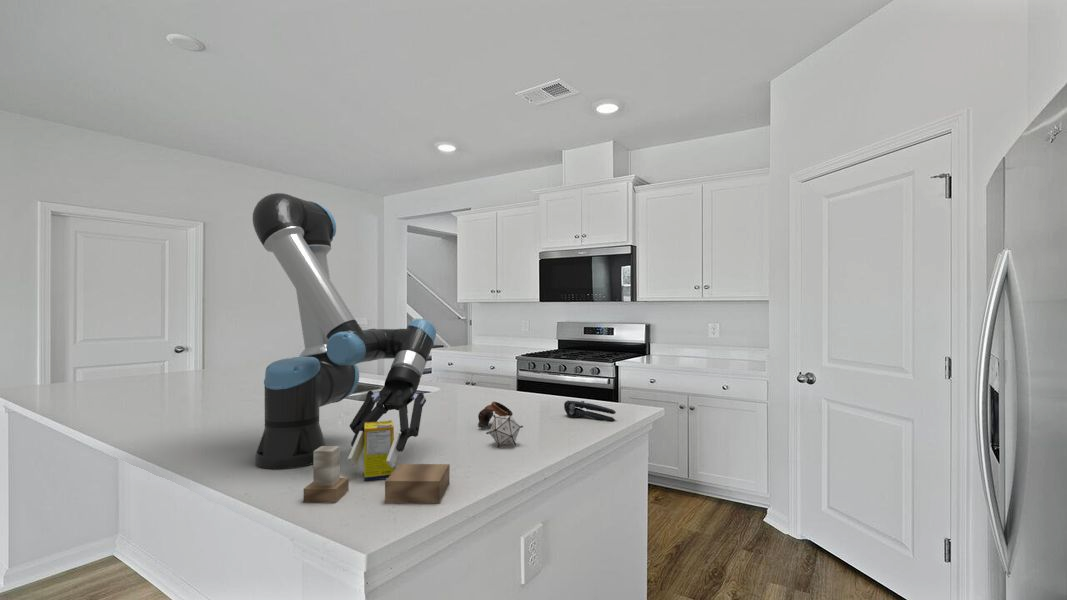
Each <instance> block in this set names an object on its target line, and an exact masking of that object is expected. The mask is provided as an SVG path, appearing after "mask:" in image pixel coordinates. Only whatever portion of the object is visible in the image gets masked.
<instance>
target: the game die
mask: <svg viewBox="0 0 1067 600" xmlns="http://www.w3.org/2000/svg"><path fill="white" fill-rule="evenodd" d="M492 418H493V420H492V424H491V427H490V429H489V431H487V432H486V433H485V434H486V435H489V436H491V437H492V439H493V440H494V441H495V442H496V443H497V448H498V449H499V448H500V446H501V445H508V444H513V445H514V446H517V443H516V440H517V437H518V434H519V432H520V430H521V429H522V428H523V427H524V425H519V423H518V422H517V421H516V420H515V419H514V418H513V416H511V413H510V414H509V415H508V416H499V415H498V416H496V414H493V416H492Z"/></svg>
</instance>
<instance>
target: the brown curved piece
mask: <svg viewBox="0 0 1067 600" xmlns="http://www.w3.org/2000/svg"><path fill="white" fill-rule="evenodd" d="M510 413H511V417H513V414H514V413H513V412H512V410H511V409H510V408H508V407H507V406H505V405H504V404H502V403H500V402H497V401H492V402H491V404H488V405H486V406H485V407H484V408H483V409H482V410H480V411H479V413H478V415H477V419H478V423H477V426H478V427H479V428H480V427H481V428H482V427H488V426H489V423H490V421H491V419H492V418H493V415H498V417H499V416H508V415H509V414H510Z"/></svg>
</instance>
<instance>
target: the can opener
mask: <svg viewBox="0 0 1067 600" xmlns="http://www.w3.org/2000/svg"><path fill="white" fill-rule="evenodd" d="M563 405H564V406H563V408H564V411H565V413H566V415H568V417H570V418H572V417H576V418H581V417H580V416H582V417H589V418H593V419H596V420H598V419H600V420H599V421H602V420H607V421H606V422H615V418H614V417H613V416H609V415H605V414H601V413H606V414H612V415H615V414H617V413H616V410H614V409H612V408H609V407H605V406H601V405H599V404H594V403H589V402H586V401H585V400H580V401H577V400H566V401H565V402H564V404H563ZM584 409H586V410H584ZM588 410H589V411H588ZM594 411H595V412H594ZM598 412H599V413H598Z"/></svg>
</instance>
